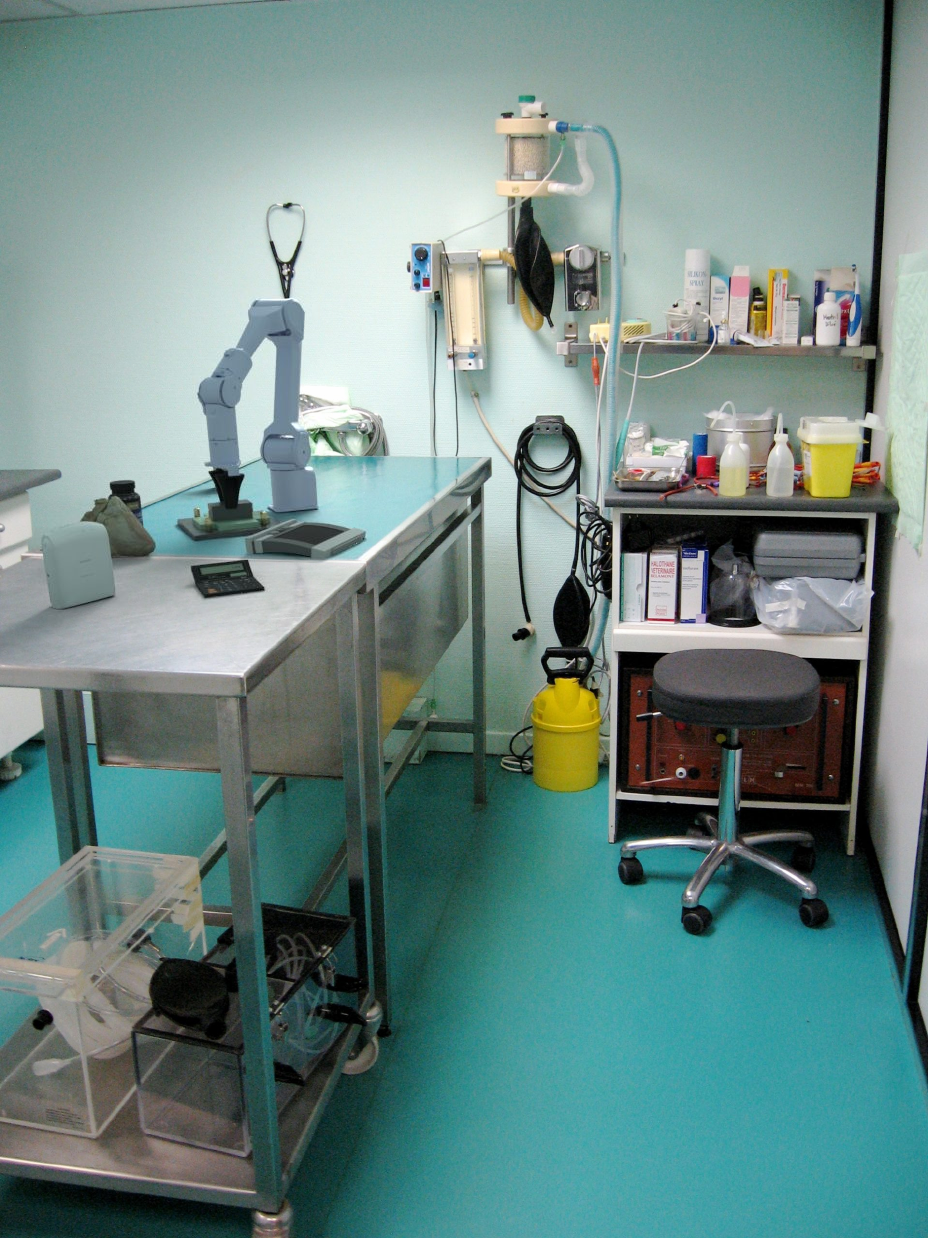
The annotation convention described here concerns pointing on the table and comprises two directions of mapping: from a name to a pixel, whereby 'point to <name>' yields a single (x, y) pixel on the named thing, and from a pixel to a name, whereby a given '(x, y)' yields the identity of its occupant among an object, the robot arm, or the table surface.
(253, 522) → the circuit board
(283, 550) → the grey curved panel device
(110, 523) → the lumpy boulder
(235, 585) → the calculator
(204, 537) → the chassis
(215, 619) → the table surface
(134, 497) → the pill bottle
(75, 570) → the photo printer
